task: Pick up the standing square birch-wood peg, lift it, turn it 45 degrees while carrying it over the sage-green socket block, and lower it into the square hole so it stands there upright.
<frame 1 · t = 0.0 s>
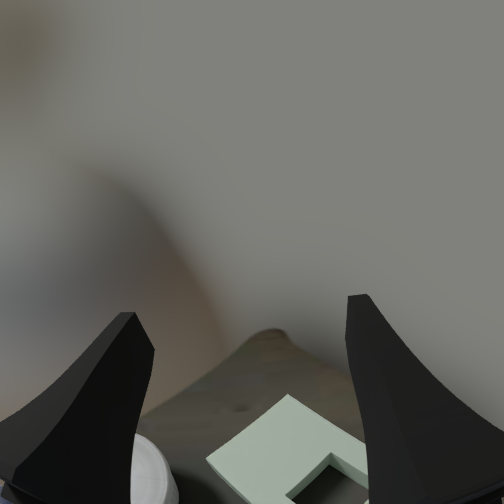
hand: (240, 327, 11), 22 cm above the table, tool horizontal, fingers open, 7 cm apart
ramekin: (135, 501, 22), on the table
socket block: (331, 500, 20), on the table
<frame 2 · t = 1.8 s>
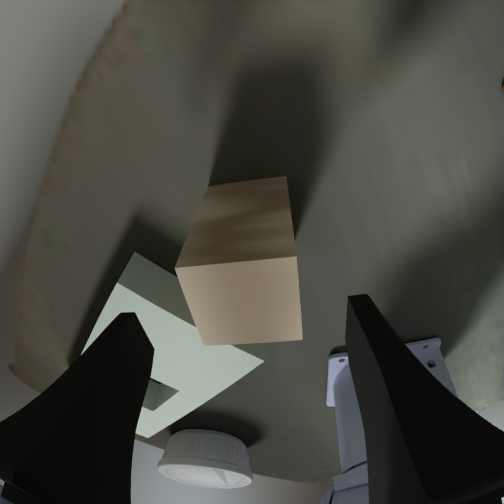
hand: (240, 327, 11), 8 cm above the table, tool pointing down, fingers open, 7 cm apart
ramekin: (209, 440, 35), on the table
peg: (252, 215, 17), on the table
socket block: (144, 359, 25), on the table
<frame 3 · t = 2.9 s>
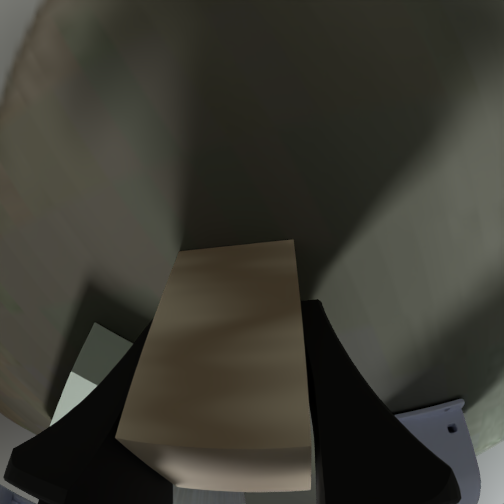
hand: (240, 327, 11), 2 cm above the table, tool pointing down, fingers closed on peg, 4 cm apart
ramekin: (203, 482, 30), on the table
peg: (244, 289, 12), on the table, touching gripper
socket block: (124, 420, 20), on the table
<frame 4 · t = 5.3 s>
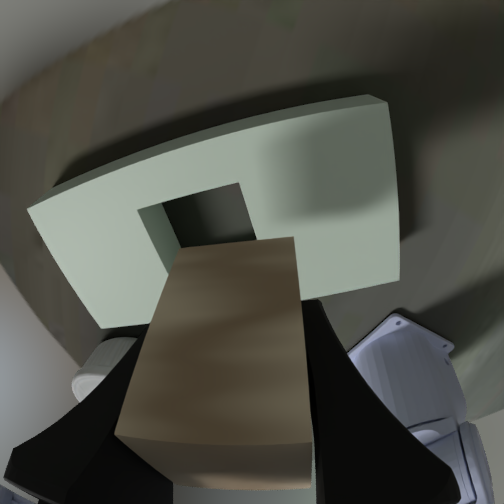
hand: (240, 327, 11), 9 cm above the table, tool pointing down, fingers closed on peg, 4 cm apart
ramekin: (144, 364, 29), on the table
peg: (244, 287, 12), point 7 cm above the table, touching gripper
socket block: (212, 215, 19), on the table
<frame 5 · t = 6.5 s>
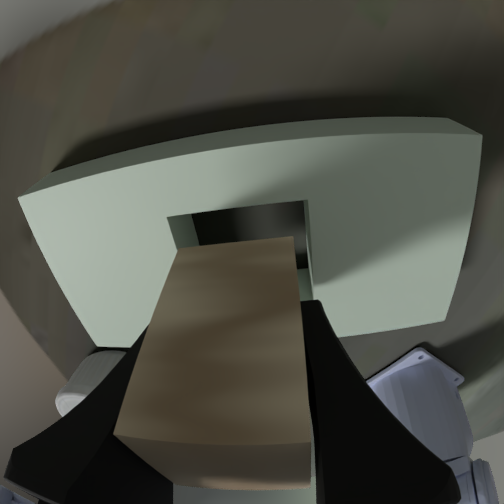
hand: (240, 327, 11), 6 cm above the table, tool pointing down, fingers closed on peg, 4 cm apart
ramekin: (136, 379, 25), on the table
peg: (243, 287, 12), point 4 cm above the table, touching gripper
socket block: (250, 229, 16), on the table
when the fingers open (4 cm above the table, at t = 7.5 s): peg drops 2 cm, resting in socket block.
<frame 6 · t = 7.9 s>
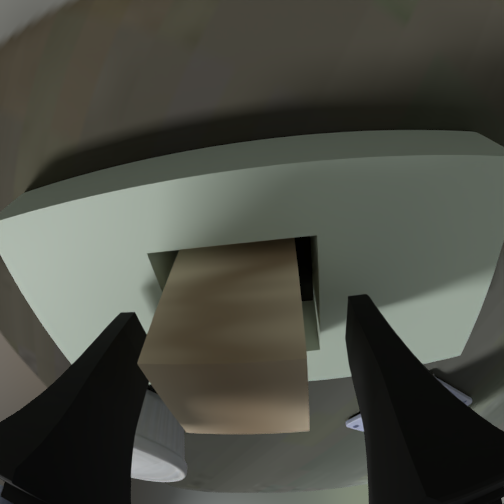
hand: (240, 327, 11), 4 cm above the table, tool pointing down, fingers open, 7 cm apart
ramekin: (129, 403, 23), on the table
peg: (247, 256, 14), resting in socket block
socket block: (247, 259, 14), on the table
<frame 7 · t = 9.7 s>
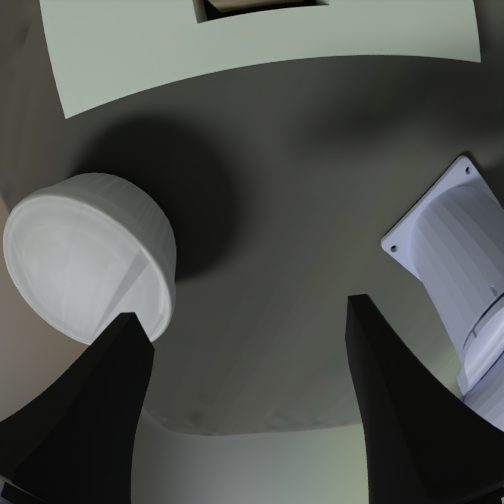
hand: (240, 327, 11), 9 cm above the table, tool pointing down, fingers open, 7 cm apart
ramekin: (112, 234, 20), on the table
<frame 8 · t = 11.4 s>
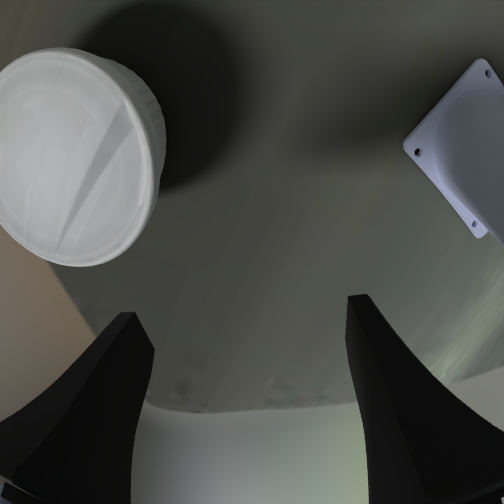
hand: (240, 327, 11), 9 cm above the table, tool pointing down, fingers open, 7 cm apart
ramekin: (96, 136, 17), on the table
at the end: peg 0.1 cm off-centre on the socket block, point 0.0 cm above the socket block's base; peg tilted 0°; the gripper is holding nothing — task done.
